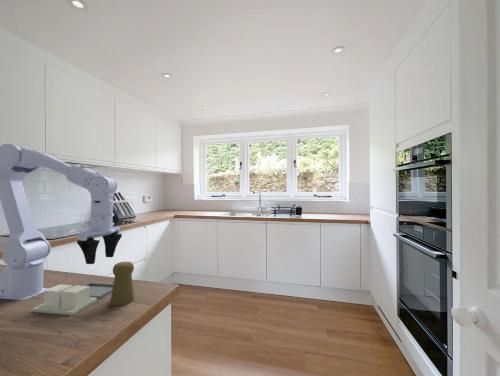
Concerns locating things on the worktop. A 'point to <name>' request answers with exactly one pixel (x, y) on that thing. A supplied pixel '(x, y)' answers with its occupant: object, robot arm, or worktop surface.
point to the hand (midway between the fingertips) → (100, 260)
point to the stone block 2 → (75, 297)
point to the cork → (122, 284)
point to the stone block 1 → (54, 296)
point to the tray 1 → (61, 311)
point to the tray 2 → (99, 289)
